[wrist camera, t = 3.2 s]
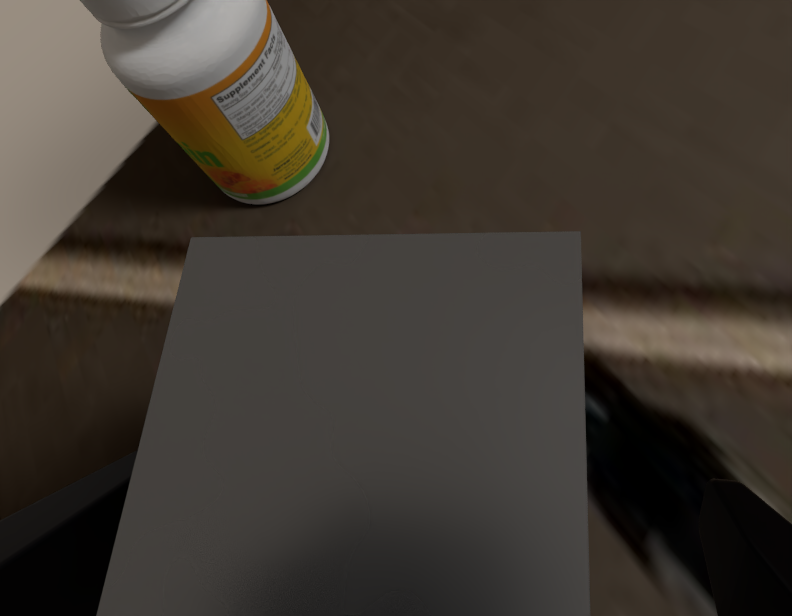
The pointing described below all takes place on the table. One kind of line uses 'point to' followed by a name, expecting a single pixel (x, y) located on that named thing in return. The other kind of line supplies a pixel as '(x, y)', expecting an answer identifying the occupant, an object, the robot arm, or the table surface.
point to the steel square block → (364, 432)
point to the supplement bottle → (220, 89)
